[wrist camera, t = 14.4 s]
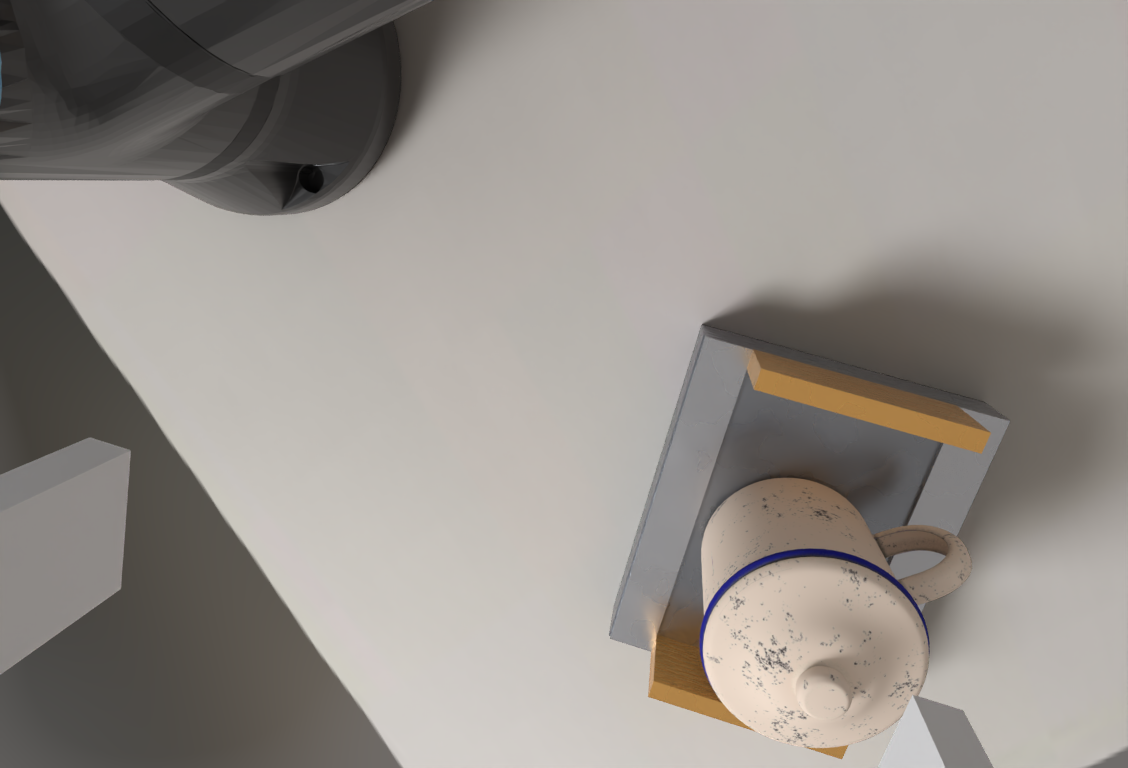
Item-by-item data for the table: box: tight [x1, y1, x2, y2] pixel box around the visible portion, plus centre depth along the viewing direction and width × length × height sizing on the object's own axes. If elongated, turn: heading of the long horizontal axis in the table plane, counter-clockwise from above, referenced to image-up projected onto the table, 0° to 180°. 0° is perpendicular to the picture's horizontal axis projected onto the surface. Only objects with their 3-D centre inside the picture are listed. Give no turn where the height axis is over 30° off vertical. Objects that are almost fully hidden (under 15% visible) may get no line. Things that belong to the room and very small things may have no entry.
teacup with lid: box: [700, 478, 972, 748], centre depth 32 cm, size 12×9×12 cm
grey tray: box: [609, 324, 1010, 759], centre depth 37 cm, size 15×18×7 cm
